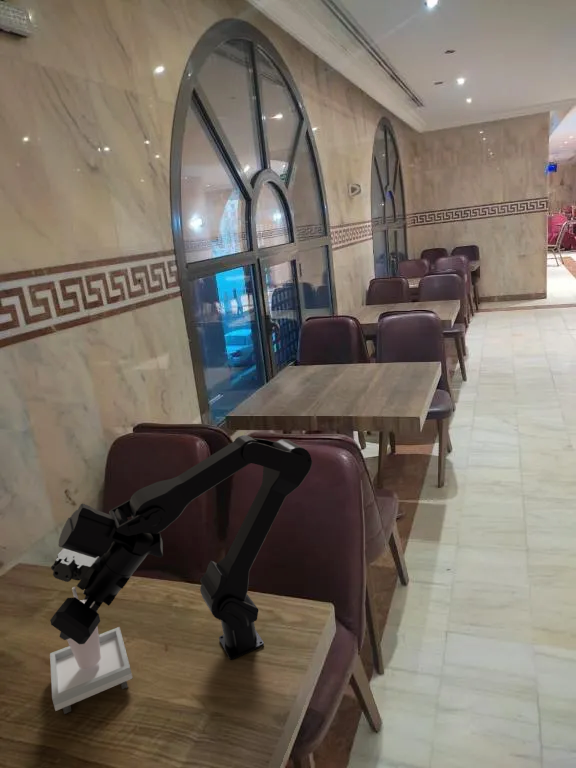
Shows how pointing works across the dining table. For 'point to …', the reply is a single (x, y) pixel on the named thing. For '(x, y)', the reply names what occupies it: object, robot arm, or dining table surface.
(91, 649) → the smoothie
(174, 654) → the dining table surface
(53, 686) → the shallow square tray
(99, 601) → the robot arm
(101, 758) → the dining table surface
